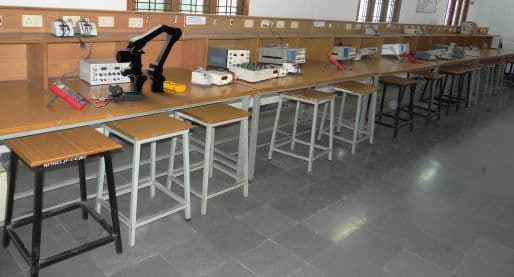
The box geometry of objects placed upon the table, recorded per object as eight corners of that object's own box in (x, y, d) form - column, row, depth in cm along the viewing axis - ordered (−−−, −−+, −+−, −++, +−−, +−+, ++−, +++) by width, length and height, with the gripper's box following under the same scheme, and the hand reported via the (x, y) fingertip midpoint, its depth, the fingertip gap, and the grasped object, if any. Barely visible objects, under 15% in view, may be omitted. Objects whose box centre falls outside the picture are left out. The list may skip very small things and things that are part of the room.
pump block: (139, 92, 237) (139, 78, 234) (142, 94, 233) (142, 80, 231) (130, 92, 234) (130, 79, 232) (133, 94, 230) (133, 81, 228)
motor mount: (135, 95, 228) (135, 81, 226) (142, 99, 221) (142, 85, 218) (107, 97, 220) (106, 83, 217) (113, 101, 212) (112, 86, 210)
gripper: (115, 59, 231) (116, 87, 236) (127, 65, 216) (127, 95, 221) (135, 59, 237) (136, 86, 242) (148, 65, 223) (148, 93, 228)
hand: (136, 90), depth 233 cm, fingers open, 7 cm apart
